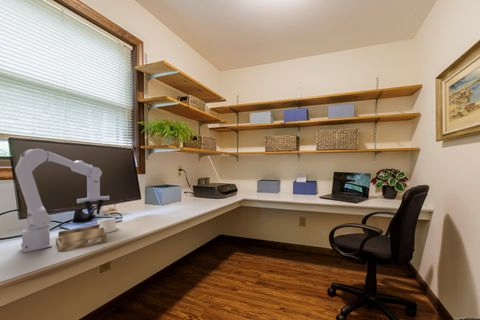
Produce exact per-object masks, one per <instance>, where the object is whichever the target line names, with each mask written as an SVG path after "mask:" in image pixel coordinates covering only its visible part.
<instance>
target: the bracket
mask: <svg viewBox="0 0 480 320" xmlns="http://www.w3.org/2000/svg"><path fill="white" fill-rule="evenodd" d="M96 222H97V224H96V225H98V224H100V227H99V228H102V227H103V228H104V232H105V233H106V234H109V233H111V232H114V231H116V230H117V225H116V222H117V221H116V217H109V218H104V219H99V220H97V221H96Z"/></svg>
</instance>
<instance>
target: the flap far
mask: <svg viewBox="0 0 480 320" xmlns="http://www.w3.org/2000/svg"><path fill="white" fill-rule="evenodd" d="M99 227H100V224H93V225H88V226H81V227H77V228H72V229H71V228H70V229H66V230H60V231H58V235H57V236H58V237H57V238H59V237H61V235H65V234H70V233H76V232H81V231H86V230H92V229H97V228H99Z"/></svg>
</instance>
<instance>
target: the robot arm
mask: <svg viewBox="0 0 480 320" xmlns="http://www.w3.org/2000/svg"><path fill="white" fill-rule="evenodd" d="M45 162H53V163H57V164H59V165H63V166H66V167H69V168H70V170H71V172H75V173H78V174H80V175H83V176H86V193H87V195H86V197H82V198H77V199H76V203H77V204H80V203H81V204H82V203H83V204H84V206H85V208H86V211H87V212H88V216H89V217H90V216H92V210H91V209H92V203H91V202H95V203H96V215H100V211H101V208H102V206H103V204H104V201H110V195H105V196H104V195H101V177H102V174H103V171H102V170H101V168H99V167H97V166H93V164H88V163H86V162H85V161H84V160H81V159H79V160H78V159H77V160H74V161H73V160H71V159H68V158H67V157H65V156H62V155H59V154H57V153H54V152H52V151H48V150H44V149H42V148H35V149H33V148H31V149H27V150H25V151H24V152H23V153H22V154H20V155H19V160H18V162H17V164H16V165H15V168H14V172H15V176H16V178H17V181H18V183H19V187H20V190H21V192H22V195H23V198H24V202H25V205H26V208H27V209H26V212H27V217H26V222H27V223H28V224H29V226H28V227H27V229H22V231H21V232H22V233H21V235H22V236H21V237H22V239H21V241H22V242H21V244H20V245H21V248H22V253H27V252H32V251H37V250H43V249H47V248H51V247H52V242H51V234H50V233H51V231H50V228H51V227H50V225H51V222H52V216H51V215H50V214H49V213H48V212H47V209H46V208H45V207H44V204H43V202H42V199H41V195H40V193H39V190H38V186H37V183H36V181H35V178H34V173H33V171H34V170H35V169H36V168H37V167H38V166H39V165H41V164H43V163H45Z"/></svg>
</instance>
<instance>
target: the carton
mask: <svg viewBox="0 0 480 320" xmlns="http://www.w3.org/2000/svg"><path fill="white" fill-rule="evenodd" d="M104 233H105V232H104ZM107 239H108V233H105V235H102V236H98V237H93V238H88V239H83V240H79V241H74V242H69V243H64V244H61V237H55V246H56V249H57V251H58V252H65V251H69V250H73V249H79V248H84V247H87V246H88V247H89V246H93V245H97V244H102V243H106V242H107V241H108V240H107Z"/></svg>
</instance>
